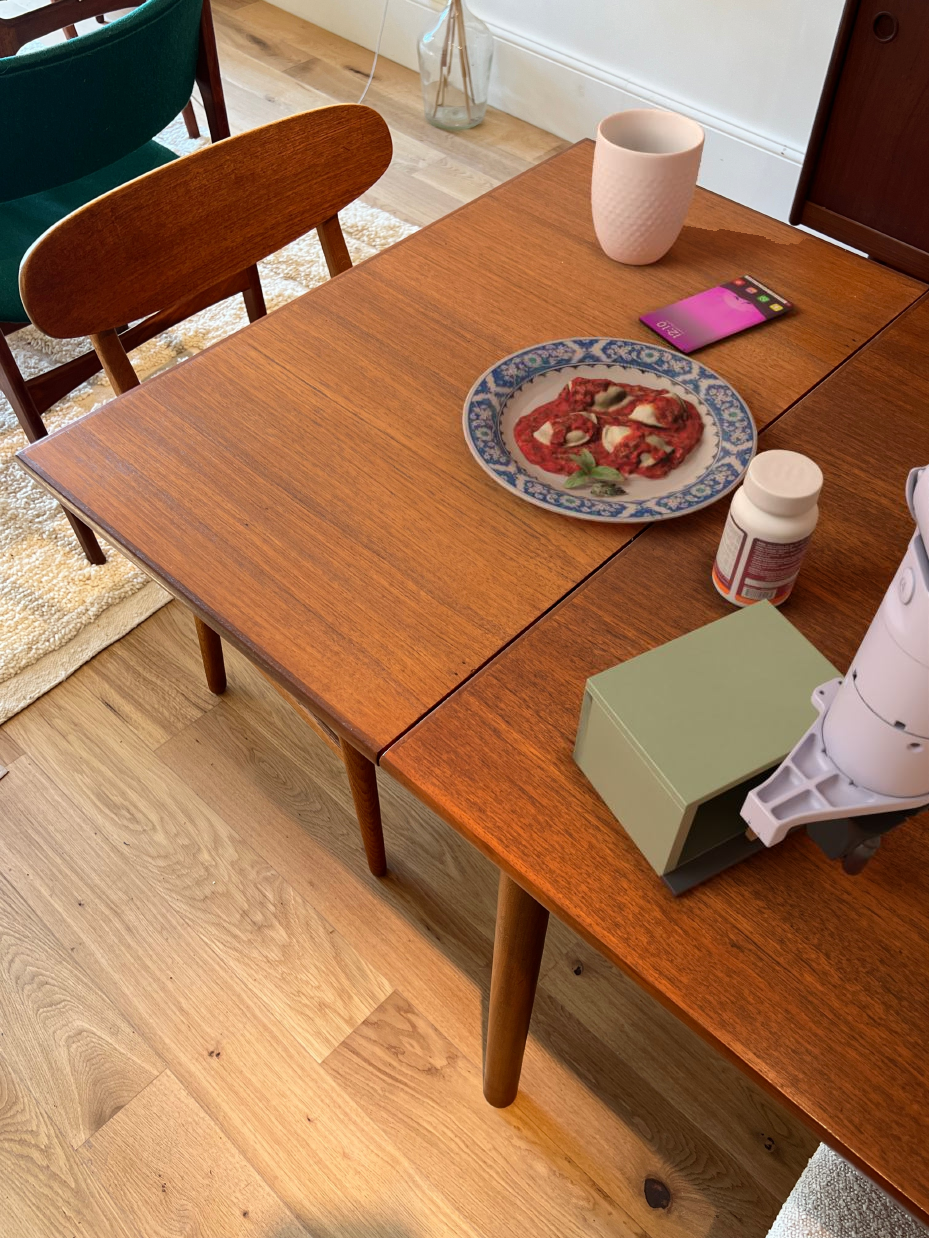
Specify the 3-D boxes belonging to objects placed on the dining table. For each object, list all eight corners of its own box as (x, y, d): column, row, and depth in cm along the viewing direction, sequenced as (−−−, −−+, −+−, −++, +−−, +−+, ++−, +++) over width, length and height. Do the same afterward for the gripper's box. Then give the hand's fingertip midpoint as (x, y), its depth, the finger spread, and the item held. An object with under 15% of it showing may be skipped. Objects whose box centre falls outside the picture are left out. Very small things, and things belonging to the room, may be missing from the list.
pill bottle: (805, 584, 78) (850, 474, 69) (759, 625, 75) (799, 515, 66) (740, 544, 81) (775, 432, 72) (694, 582, 78) (724, 470, 69)
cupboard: (847, 802, 65) (893, 724, 58) (674, 898, 60) (702, 825, 54) (736, 679, 71) (766, 597, 65) (572, 758, 67) (586, 678, 60)
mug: (585, 207, 117) (597, 90, 108) (679, 213, 117) (700, 96, 107) (583, 273, 108) (596, 151, 98) (685, 280, 107) (709, 157, 97)
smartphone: (793, 313, 103) (796, 305, 102) (682, 356, 97) (684, 349, 97) (745, 281, 107) (747, 273, 106) (636, 321, 101) (637, 313, 101)
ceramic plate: (545, 327, 101) (548, 301, 98) (791, 410, 92) (800, 383, 90) (406, 470, 86) (405, 442, 84) (683, 584, 78) (690, 557, 75)
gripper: (969, 567, 47) (875, 731, 57) (726, 683, 42) (671, 839, 52) (1095, 671, 43) (970, 827, 53) (842, 812, 38) (758, 954, 48)
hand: (828, 840), depth 53 cm, fingers closed
